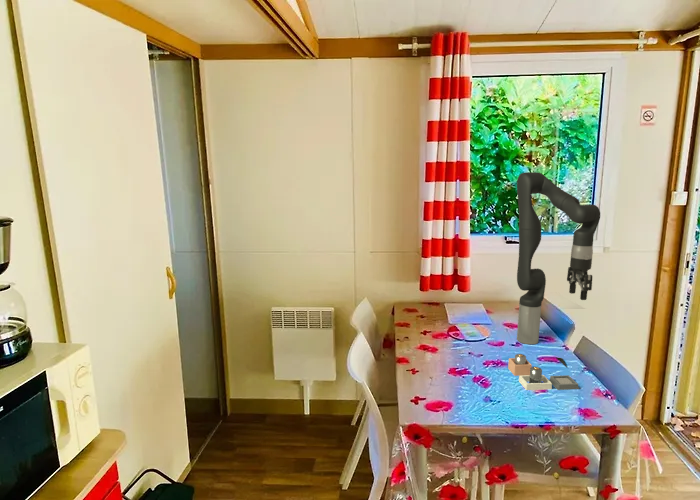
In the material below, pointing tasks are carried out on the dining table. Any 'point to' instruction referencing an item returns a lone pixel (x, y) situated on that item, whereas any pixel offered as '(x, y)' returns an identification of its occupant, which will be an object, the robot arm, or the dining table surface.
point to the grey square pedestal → (563, 386)
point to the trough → (535, 386)
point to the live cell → (535, 375)
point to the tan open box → (519, 368)
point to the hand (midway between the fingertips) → (577, 296)
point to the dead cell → (520, 359)
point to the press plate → (563, 380)
